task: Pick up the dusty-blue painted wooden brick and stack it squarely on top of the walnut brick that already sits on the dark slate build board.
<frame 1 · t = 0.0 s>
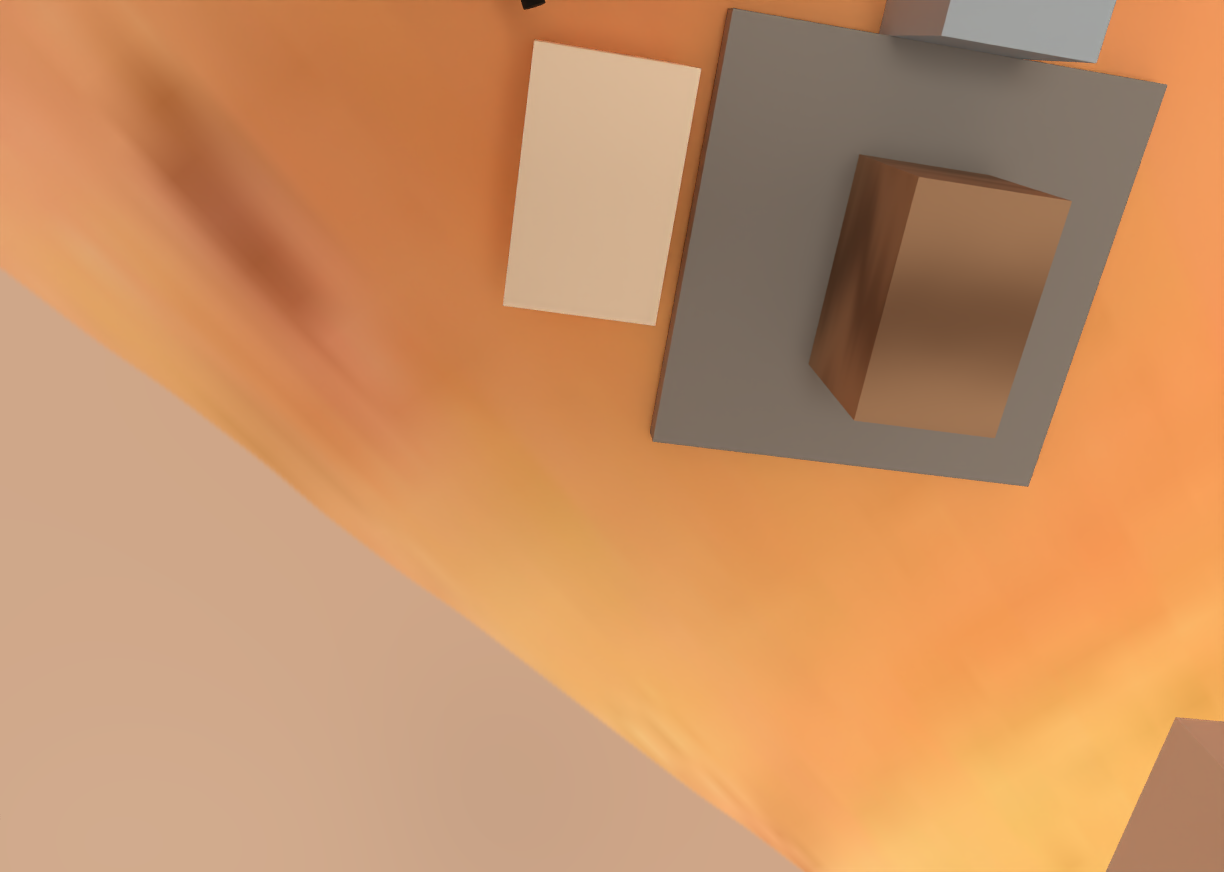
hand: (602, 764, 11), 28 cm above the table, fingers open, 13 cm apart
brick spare: (588, 166, 36), on the table
brick base: (896, 272, 37), point 1 cm above the table, touching build board
build board: (887, 266, 38), on the table
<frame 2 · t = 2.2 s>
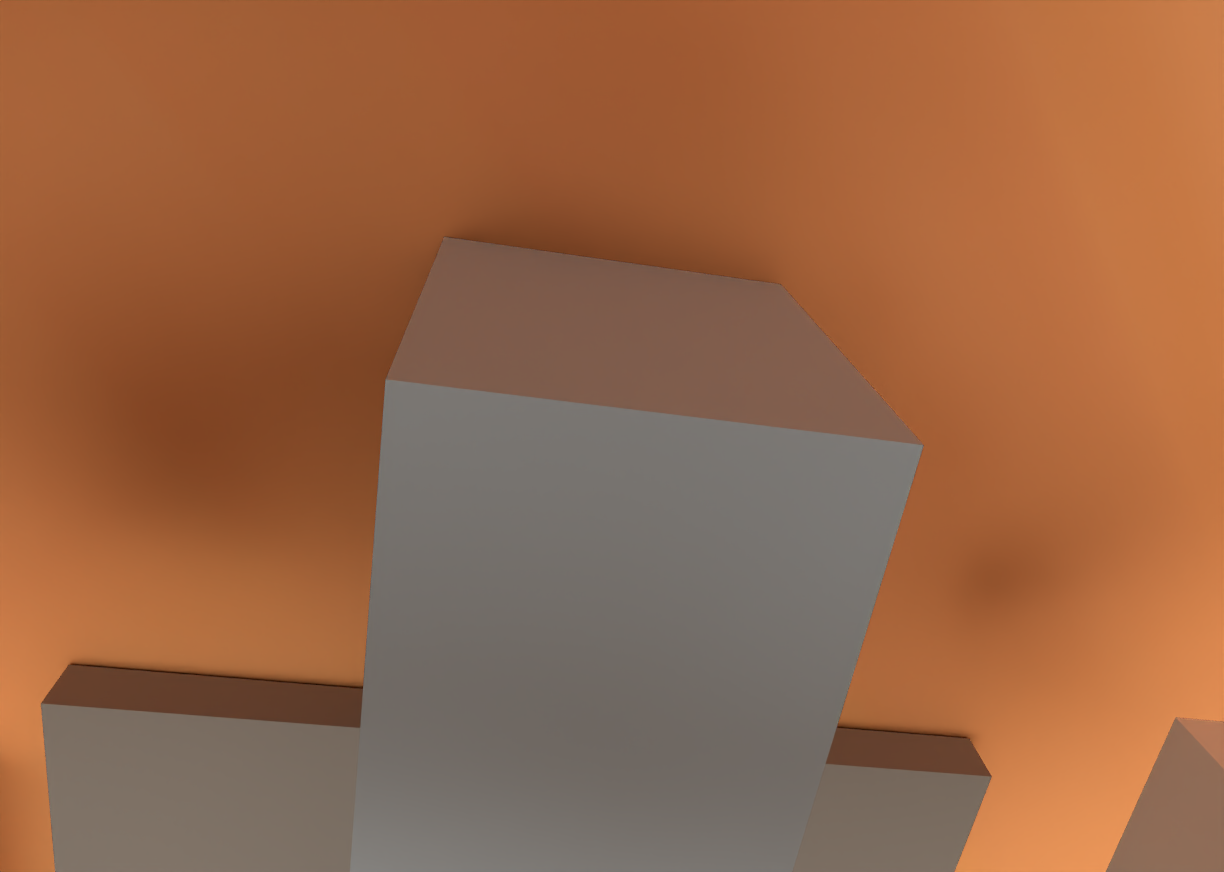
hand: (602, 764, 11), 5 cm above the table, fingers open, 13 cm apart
brick top: (577, 499, 16), on the table
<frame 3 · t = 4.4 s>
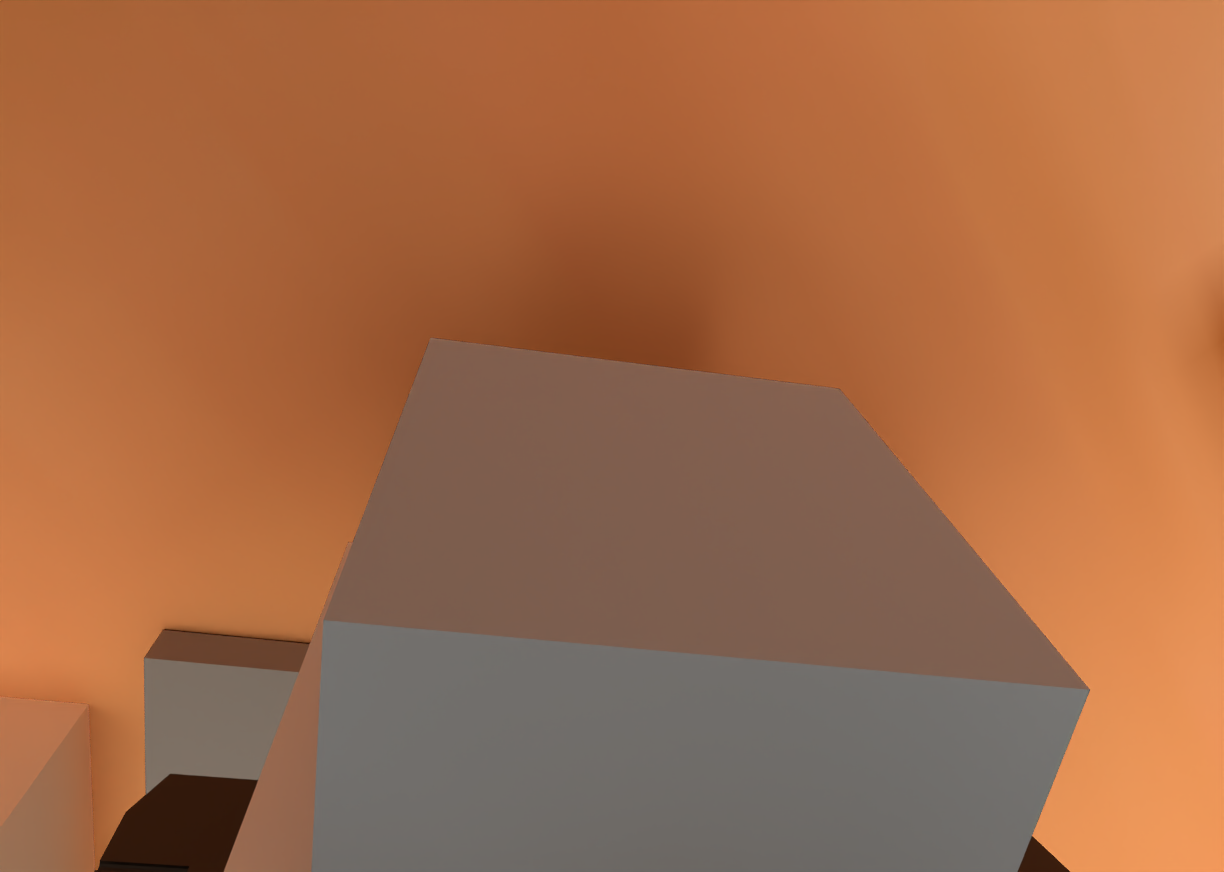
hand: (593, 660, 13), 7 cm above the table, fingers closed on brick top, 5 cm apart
brick top: (592, 643, 13), point 6 cm above the table, touching gripper
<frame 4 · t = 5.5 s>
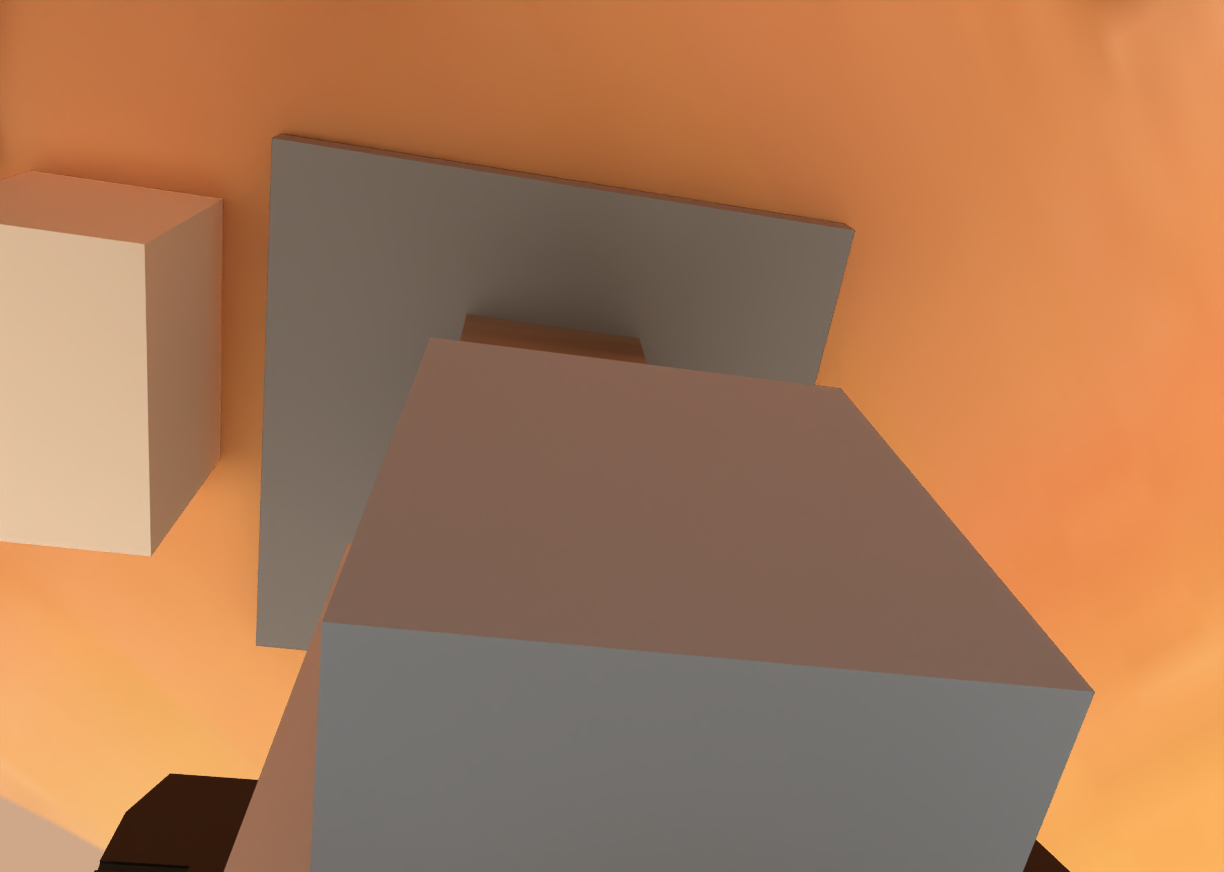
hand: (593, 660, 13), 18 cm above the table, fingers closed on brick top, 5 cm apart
brick top: (593, 644, 13), point 17 cm above the table, touching gripper
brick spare: (133, 323, 28), on the table
brick base: (535, 452, 30), point 1 cm above the table, touching build board
build board: (535, 439, 31), on the table
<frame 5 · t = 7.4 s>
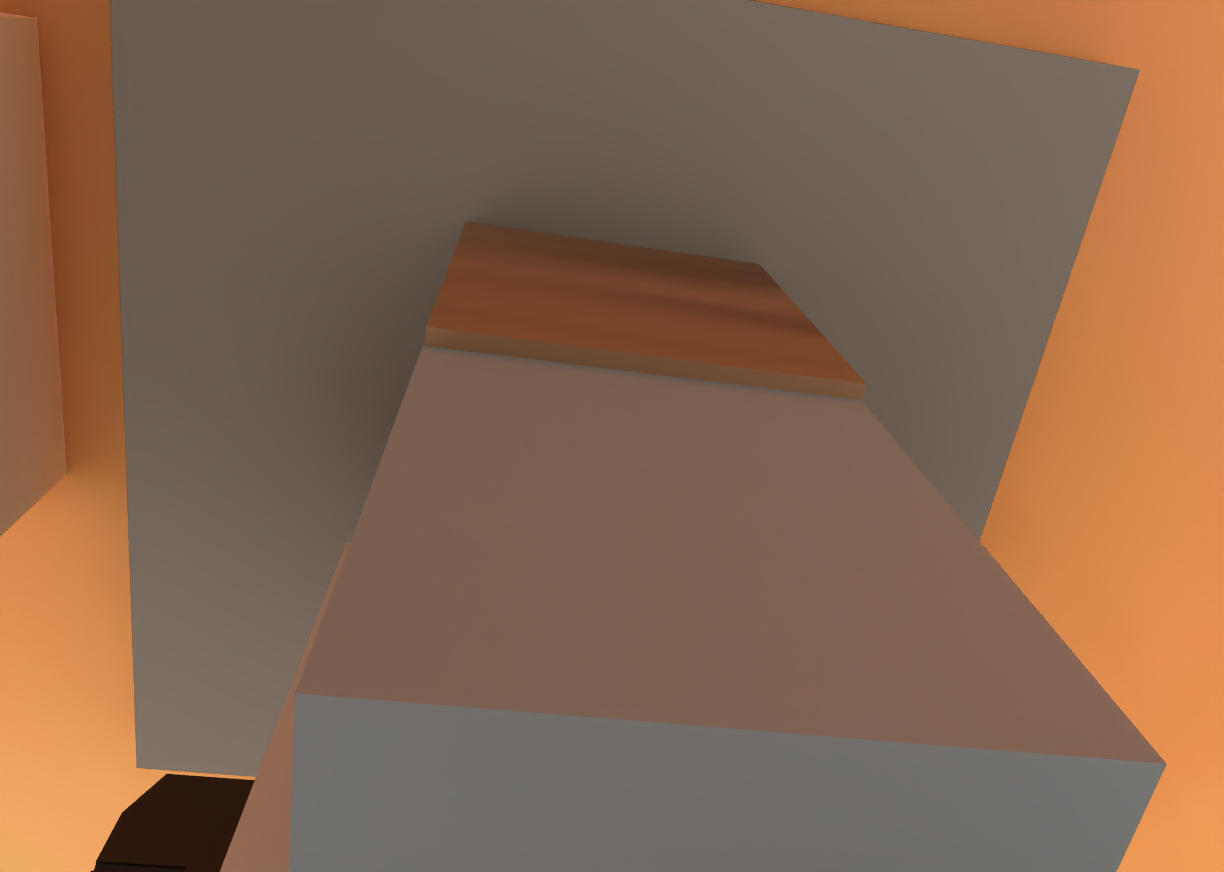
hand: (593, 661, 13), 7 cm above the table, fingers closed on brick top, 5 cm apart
brick top: (595, 667, 12), point 7 cm above the table, touching brick base, gripper
brick base: (580, 458, 18), point 1 cm above the table, touching brick top, build board
build board: (579, 437, 19), on the table
when the fingers open (7 cm above the table, at t = 7.4 s): brick top stays where it is, resting on brick base.
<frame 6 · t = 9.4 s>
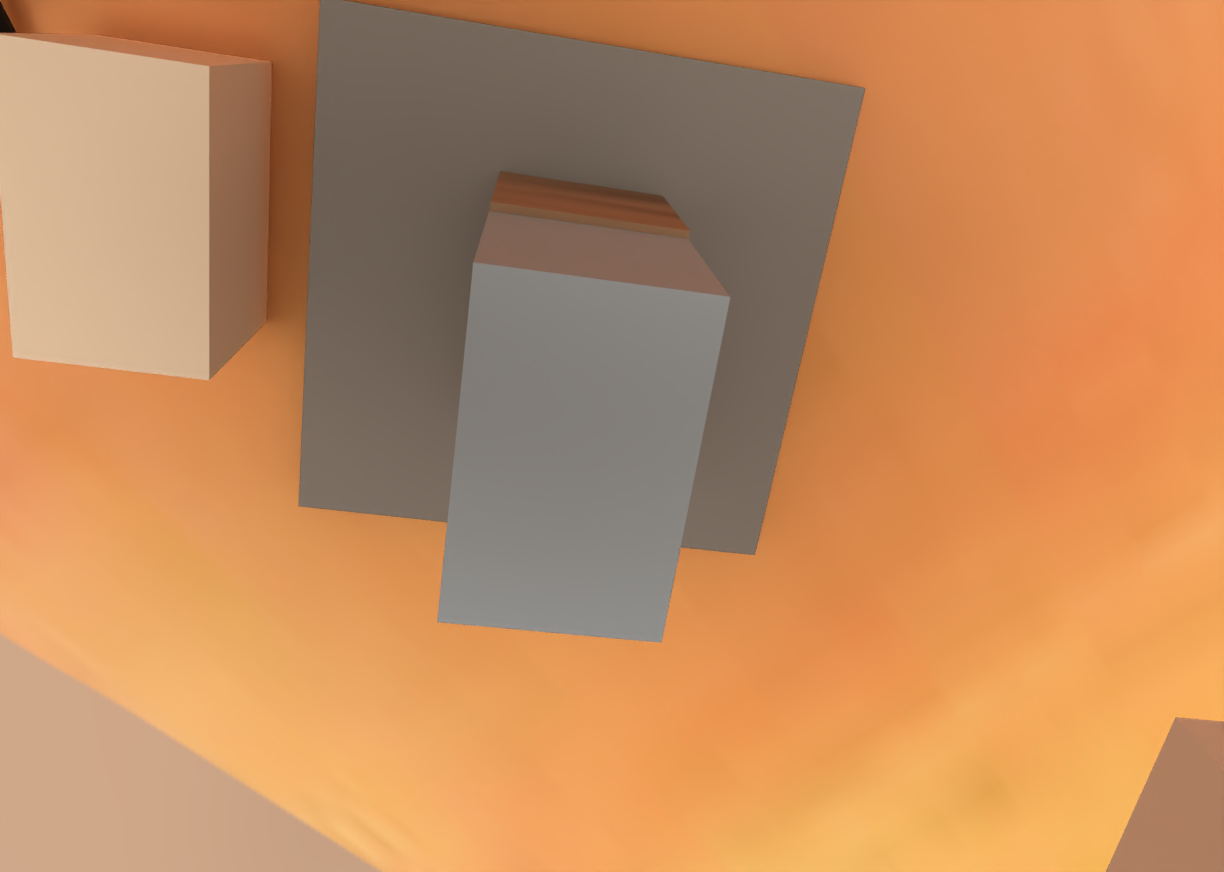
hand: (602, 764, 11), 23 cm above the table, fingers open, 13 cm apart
brick top: (568, 376, 26), point 7 cm above the table, touching brick base
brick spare: (186, 186, 30), on the table
brick base: (564, 310, 31), point 1 cm above the table, touching brick top, build board
build board: (563, 302, 32), on the table
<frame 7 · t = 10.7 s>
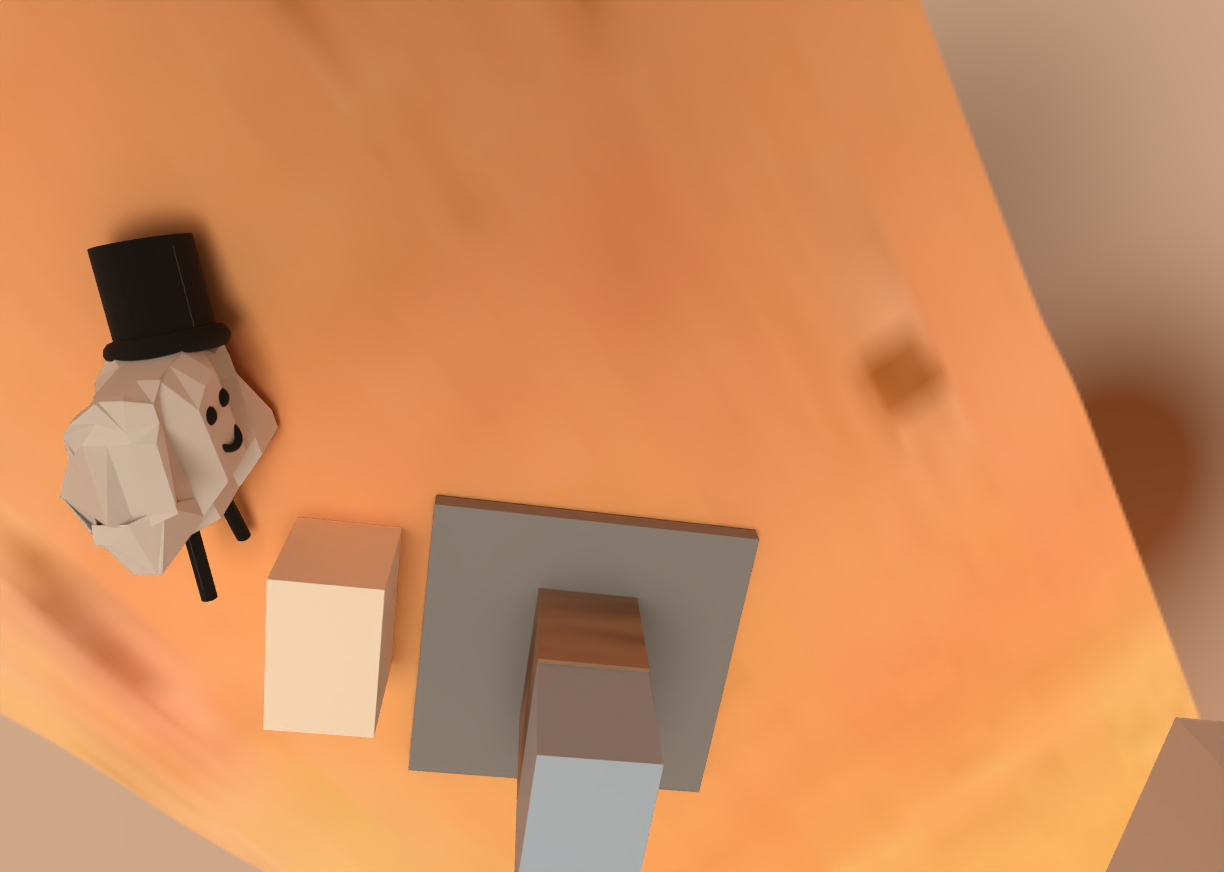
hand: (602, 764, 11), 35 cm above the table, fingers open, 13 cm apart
brick top: (580, 739, 45), point 7 cm above the table, touching brick base
toy: (198, 392, 45), on the table
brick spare: (346, 591, 49), on the table
brick base: (576, 659, 51), point 1 cm above the table, touching brick top, build board
build board: (576, 648, 51), on the table
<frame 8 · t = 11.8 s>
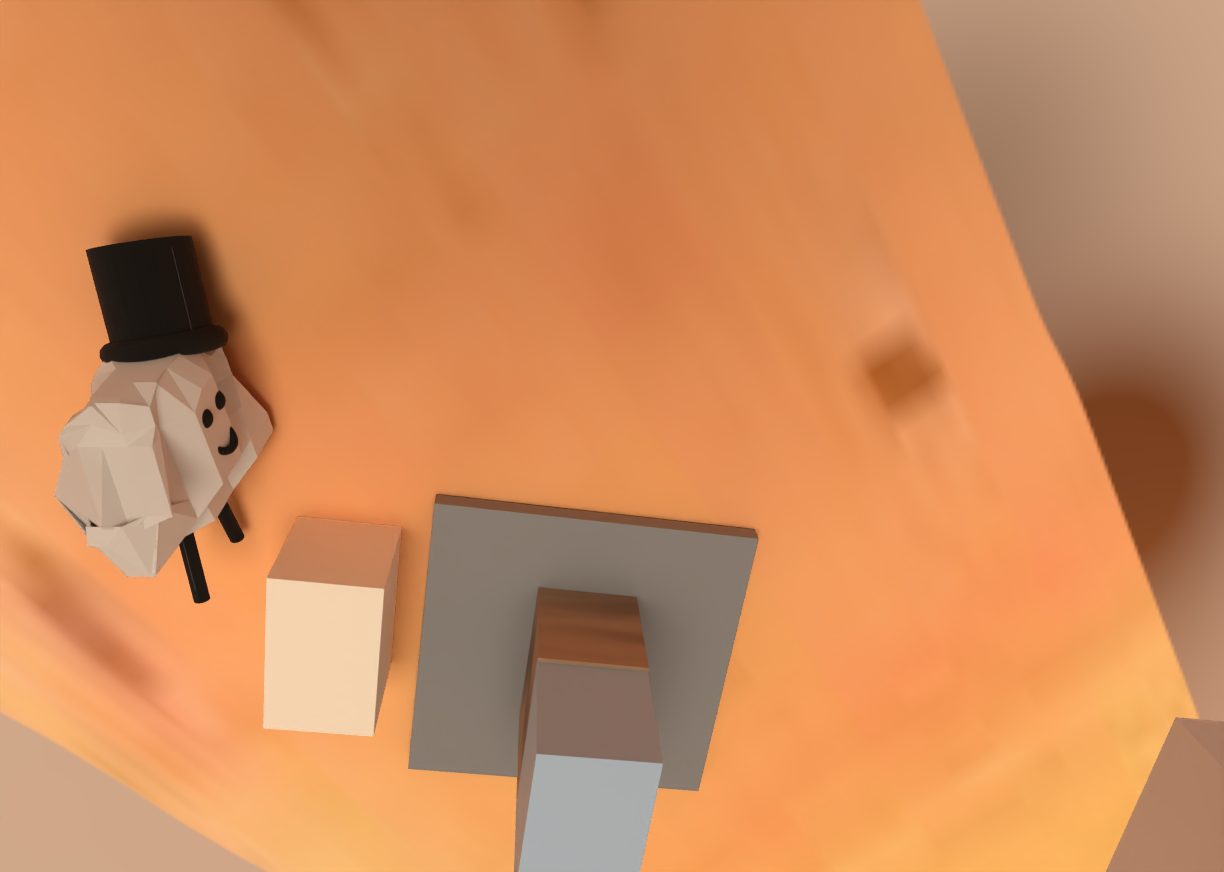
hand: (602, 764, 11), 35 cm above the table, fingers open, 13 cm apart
brick top: (580, 738, 45), point 7 cm above the table, touching brick base
toy: (194, 394, 45), on the table
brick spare: (346, 590, 49), on the table
brick base: (576, 658, 51), point 1 cm above the table, touching brick top, build board
build board: (575, 647, 52), on the table
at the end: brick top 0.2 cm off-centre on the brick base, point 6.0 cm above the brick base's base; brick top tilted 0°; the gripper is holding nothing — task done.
